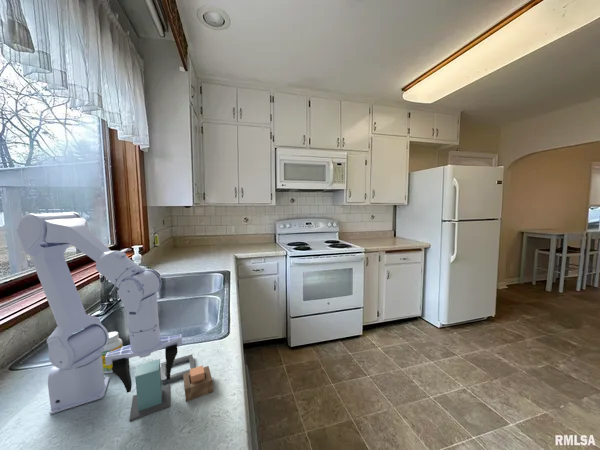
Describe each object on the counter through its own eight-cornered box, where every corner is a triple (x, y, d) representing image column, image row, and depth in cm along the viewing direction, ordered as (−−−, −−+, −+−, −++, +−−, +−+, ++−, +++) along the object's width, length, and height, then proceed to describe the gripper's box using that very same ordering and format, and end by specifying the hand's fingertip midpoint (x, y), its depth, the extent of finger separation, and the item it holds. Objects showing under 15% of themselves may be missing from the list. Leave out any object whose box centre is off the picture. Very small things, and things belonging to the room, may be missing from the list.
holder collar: (161, 385, 64) (160, 380, 63) (161, 367, 71) (161, 363, 70) (195, 373, 67) (195, 369, 67) (192, 358, 74) (192, 354, 74)
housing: (185, 401, 58) (184, 389, 58) (184, 385, 63) (183, 373, 63) (213, 391, 61) (212, 379, 60) (209, 376, 66) (208, 365, 66)
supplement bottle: (125, 359, 75) (121, 328, 74) (124, 368, 70) (121, 336, 69) (102, 366, 72) (98, 333, 71) (100, 376, 67) (96, 342, 66)
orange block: (192, 392, 60) (190, 376, 60) (190, 384, 63) (189, 369, 62) (205, 387, 61) (204, 372, 61) (203, 380, 64) (202, 365, 64)
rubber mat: (129, 421, 53) (129, 419, 53) (133, 397, 60) (133, 395, 60) (170, 406, 57) (170, 405, 57) (169, 385, 63) (169, 383, 63)
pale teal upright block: (138, 411, 55) (135, 376, 54) (140, 397, 59) (137, 364, 58) (161, 403, 57) (158, 369, 56) (162, 390, 61) (159, 358, 60)
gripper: (99, 344, 50) (106, 408, 51) (181, 325, 56) (185, 382, 58) (106, 328, 56) (112, 386, 57) (179, 313, 63) (183, 365, 64)
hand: (149, 383), depth 58 cm, fingers open, 7 cm apart
